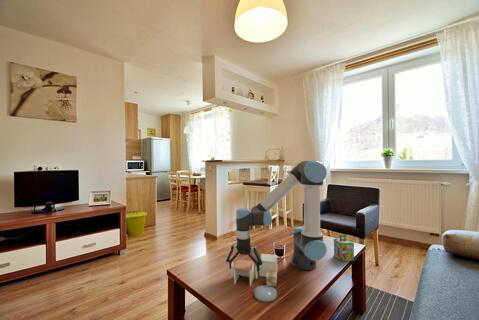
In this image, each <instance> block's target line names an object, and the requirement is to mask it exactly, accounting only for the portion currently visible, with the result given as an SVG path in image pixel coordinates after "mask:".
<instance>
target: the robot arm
mask: <svg viewBox="0 0 479 320" xmlns="http://www.w3.org/2000/svg"><path fill="white" fill-rule="evenodd" d="M327 174H328V173H327V168H326V166H325V165H324V164H323V163H322V162H320V161H318V160H303V161H300V162H299V163H297V164H296V165H295V166H294V168H292V169H291V170H290V171H288V175H287V176H286V177H285V178H284V179H283V180H282V181H281V182H280V183H279V184H278V185H277V186H276V187H274V188H273V189H272V190H271V191H270V192H269V193H268V194H267V195H266V196H265V197H264V198H263V199H261V201H260V202H259V203H258V204H256V205H253V206H252V207H251V208H250V209H249V208H246V207H242V208H238V209H237V210H236V212H235V222H236V223H235V225H236V227H235V228H236V245H235V244H232V245H231V246H230V247H231V248H230V251H229V253H228V256H227V258H226V260H225V262H226V263H228V264H229V266H228V267H229V270H230V275H231V277H234V266H235V264H234V263H235V262H234V261H235V259H236V258H237V257H238V256H239V255H242V256H243V255H245V256H247V257H249V258H250V260H251V261H253V262H254V277H255V279H258V277H259V276H258V275H259V274H258V273H259V270H260V268H259V266H260V265H262V263H263V262H262V260H261V258H260V257H261V255H260V253H259V252H258V250H257V246H256V245H254V246H252V245H251V227H263V226H264V227H266V226H271V225H272V223H273V222H272V221H273V217H272V213H271V211H270V210H272V209H273V208H274V207H275V206H276V205H277V204H278V203H279V202H281V200H282V199H283V198H284V197H285V196H286V195H288V194H289V193H290V192H291V191H292V190H293V189H294V188H295V187H296V186H298V185H301V186H302V187H303V225H302V226H296V227H294V228H293V230H292V231H293V232H292V237H293V238H292V241H293V252H292V256H291V258H290V264H291V266H292V267H294V268H295V269H297V270H301V271H312V270H315V269H316V268H317V261H320V260H322V259H323V258H324V257H325V256H326V254H327V251H328V250H327V246H326V243H324V234H323V232H322V231H321V188H322V187H323V186H324V180H325V179H326V177H327ZM234 250H236V253H235V254H234V255H233V256H232V254H233V252H234ZM251 250H252V251H251ZM253 253H254V254H253ZM254 255H255V256H254ZM231 256H232V258H231Z"/></svg>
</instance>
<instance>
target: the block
mask: <svg viewBox="0 0 479 320" xmlns="http://www.w3.org/2000/svg"><path fill="white" fill-rule="evenodd" d="M265 282H266V285H267V286H271V287H273V288H276V287H277V284H278V271H277V272H269V271H268V272H267V276H266V281H265Z"/></svg>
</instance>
